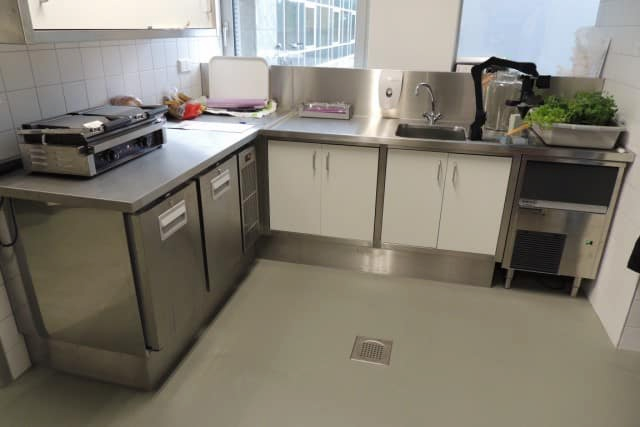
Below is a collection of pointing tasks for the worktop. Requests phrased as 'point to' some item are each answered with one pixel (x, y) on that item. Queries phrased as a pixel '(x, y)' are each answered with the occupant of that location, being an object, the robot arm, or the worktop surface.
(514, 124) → the skincare box
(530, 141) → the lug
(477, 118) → the robot arm
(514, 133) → the strap
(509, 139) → the clamp base
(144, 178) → the worktop surface
